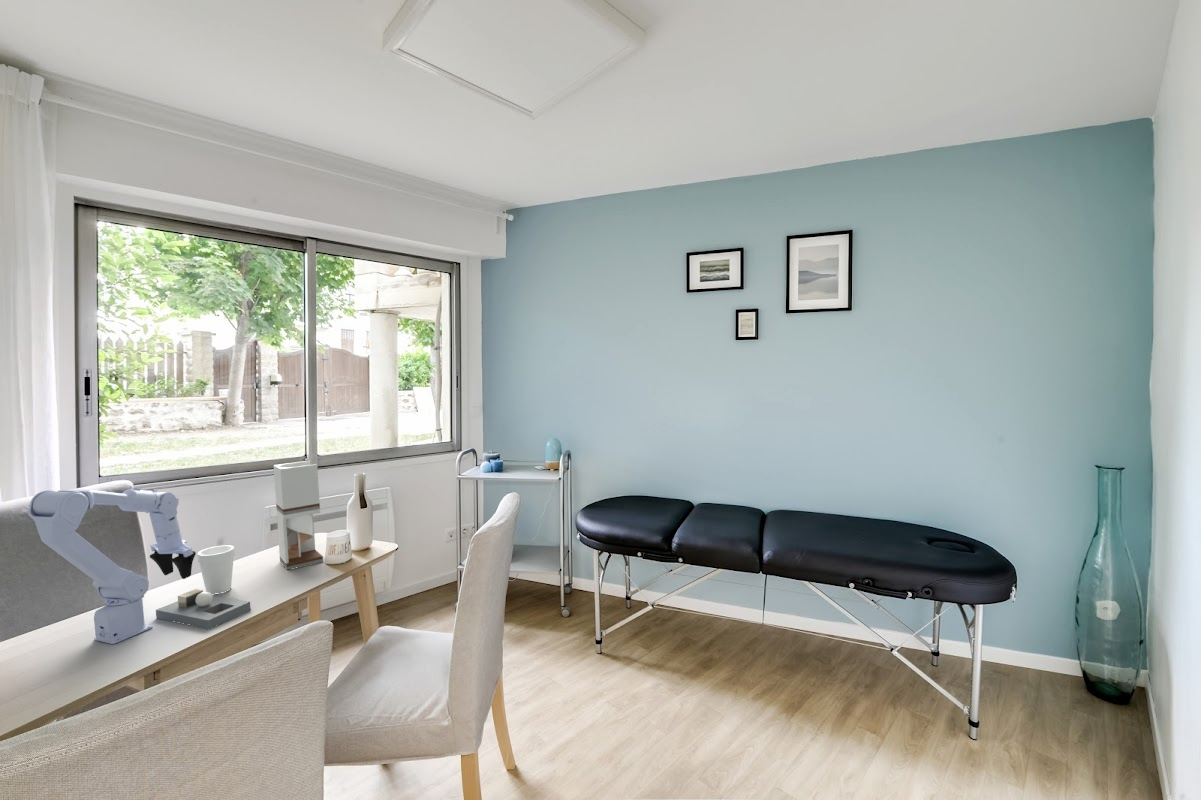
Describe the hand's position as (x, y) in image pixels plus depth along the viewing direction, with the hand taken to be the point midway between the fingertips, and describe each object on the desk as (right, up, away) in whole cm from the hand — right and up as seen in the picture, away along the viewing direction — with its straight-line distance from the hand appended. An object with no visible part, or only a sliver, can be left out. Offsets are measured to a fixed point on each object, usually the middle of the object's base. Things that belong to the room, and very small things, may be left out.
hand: (177, 575), depth 163 cm
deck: (+11, -10, -4) cm, 15 cm away
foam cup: (+4, -9, +12) cm, 16 cm away
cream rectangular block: (+6, -7, -3) cm, 10 cm away
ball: (+11, -5, -5) cm, 13 cm away
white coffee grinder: (+17, -7, +36) cm, 40 cm away
